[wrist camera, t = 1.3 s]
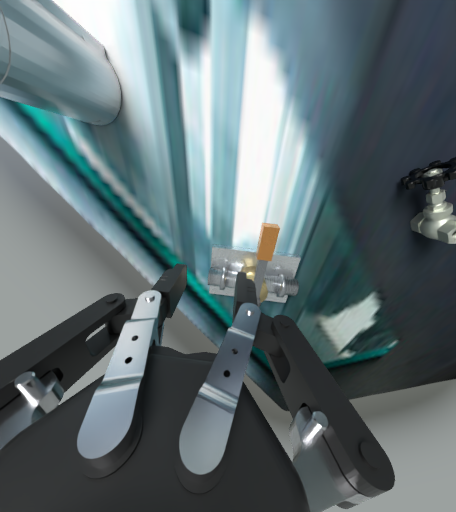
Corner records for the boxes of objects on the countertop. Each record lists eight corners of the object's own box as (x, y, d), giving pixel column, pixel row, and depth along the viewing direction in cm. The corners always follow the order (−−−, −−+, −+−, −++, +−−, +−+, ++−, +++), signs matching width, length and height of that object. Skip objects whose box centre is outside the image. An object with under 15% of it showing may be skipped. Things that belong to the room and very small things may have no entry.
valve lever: (258, 303, 32) (259, 310, 30) (245, 301, 32) (246, 308, 30) (277, 224, 25) (280, 228, 23) (261, 222, 25) (263, 226, 23)
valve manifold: (213, 244, 36) (206, 262, 29) (298, 254, 36) (312, 276, 29) (210, 289, 41) (203, 314, 34) (283, 298, 41) (292, 325, 34)
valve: (443, 221, 31) (436, 157, 27) (491, 233, 25) (491, 154, 21) (402, 239, 33) (389, 182, 29) (437, 254, 27) (427, 185, 23)
